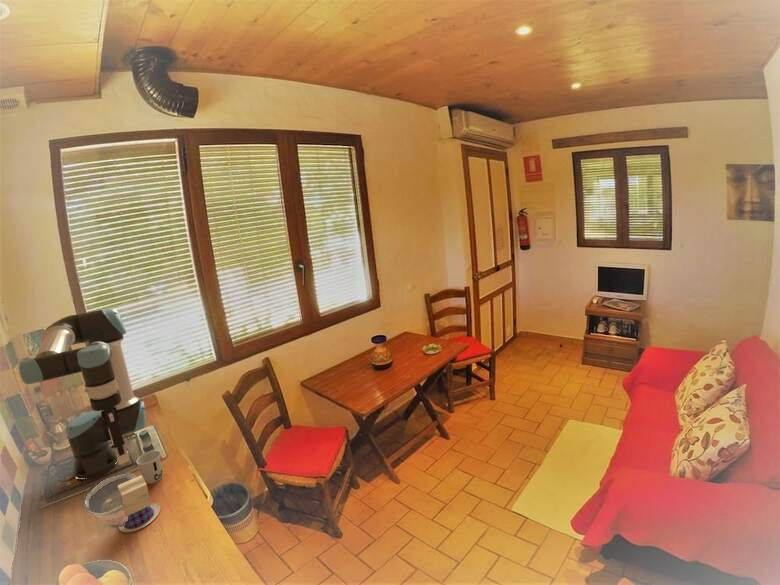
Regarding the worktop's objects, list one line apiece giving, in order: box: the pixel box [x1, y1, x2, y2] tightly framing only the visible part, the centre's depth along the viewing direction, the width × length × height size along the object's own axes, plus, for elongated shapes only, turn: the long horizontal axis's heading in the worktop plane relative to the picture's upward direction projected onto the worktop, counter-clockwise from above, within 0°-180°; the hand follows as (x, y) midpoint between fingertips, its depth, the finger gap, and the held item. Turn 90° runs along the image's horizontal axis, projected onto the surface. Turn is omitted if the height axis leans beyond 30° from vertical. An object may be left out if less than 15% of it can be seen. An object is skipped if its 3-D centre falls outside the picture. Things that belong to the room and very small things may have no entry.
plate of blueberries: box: [118, 502, 161, 533], centre depth 128 cm, size 12×12×5 cm
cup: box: [136, 449, 164, 484], centre depth 146 cm, size 8×8×10 cm
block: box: [117, 474, 152, 517], centre depth 126 cm, size 7×7×8 cm
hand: (120, 452), depth 122 cm, fingers open, 13 cm apart
